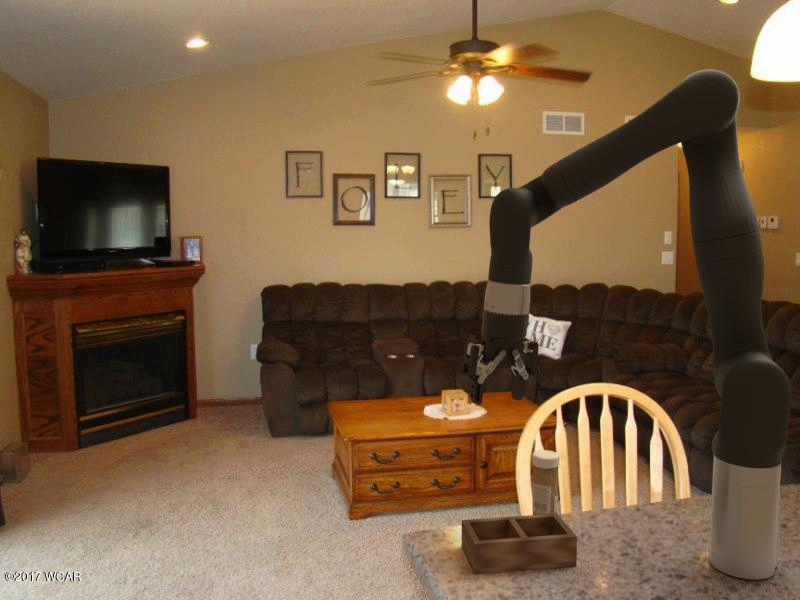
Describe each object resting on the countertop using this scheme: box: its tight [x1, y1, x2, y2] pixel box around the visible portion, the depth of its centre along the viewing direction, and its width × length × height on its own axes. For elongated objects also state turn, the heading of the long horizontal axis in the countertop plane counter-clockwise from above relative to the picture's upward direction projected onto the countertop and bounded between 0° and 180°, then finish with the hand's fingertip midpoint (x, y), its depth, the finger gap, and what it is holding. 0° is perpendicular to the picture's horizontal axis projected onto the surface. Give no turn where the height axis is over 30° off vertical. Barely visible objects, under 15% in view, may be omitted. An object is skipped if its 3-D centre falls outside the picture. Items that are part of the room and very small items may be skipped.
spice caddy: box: [461, 513, 578, 575], centre depth 112 cm, size 16×9×5 cm, turn 98°
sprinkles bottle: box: [531, 449, 560, 515], centre depth 122 cm, size 5×5×14 cm
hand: (496, 401), depth 121 cm, fingers open, 8 cm apart
